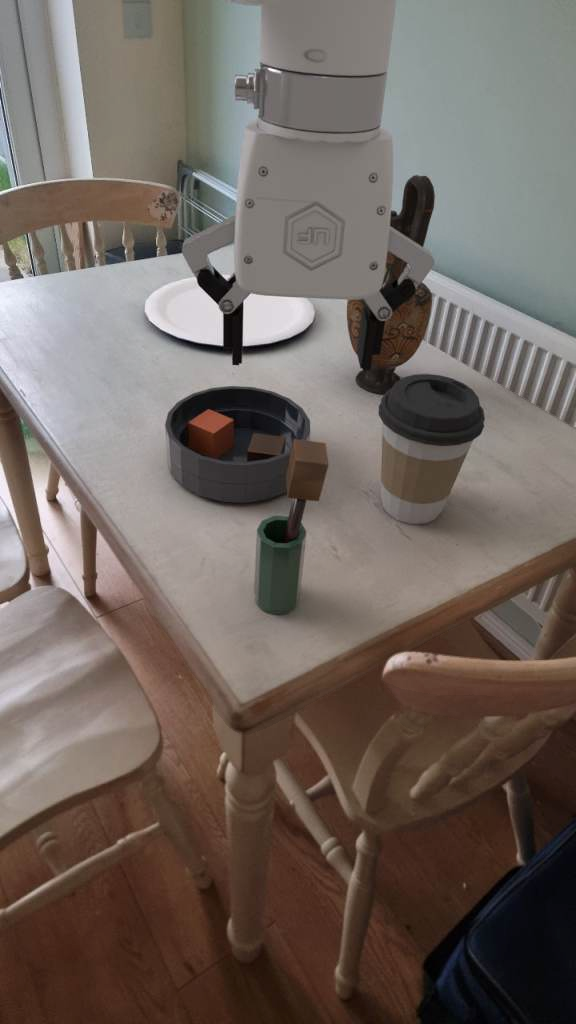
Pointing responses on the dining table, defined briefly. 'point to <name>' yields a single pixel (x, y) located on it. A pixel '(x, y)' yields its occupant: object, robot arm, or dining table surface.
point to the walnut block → (265, 447)
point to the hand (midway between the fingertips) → (300, 359)
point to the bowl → (235, 443)
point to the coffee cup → (425, 443)
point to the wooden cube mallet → (304, 481)
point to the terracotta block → (211, 434)
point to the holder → (278, 566)
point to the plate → (201, 320)
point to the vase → (415, 313)
